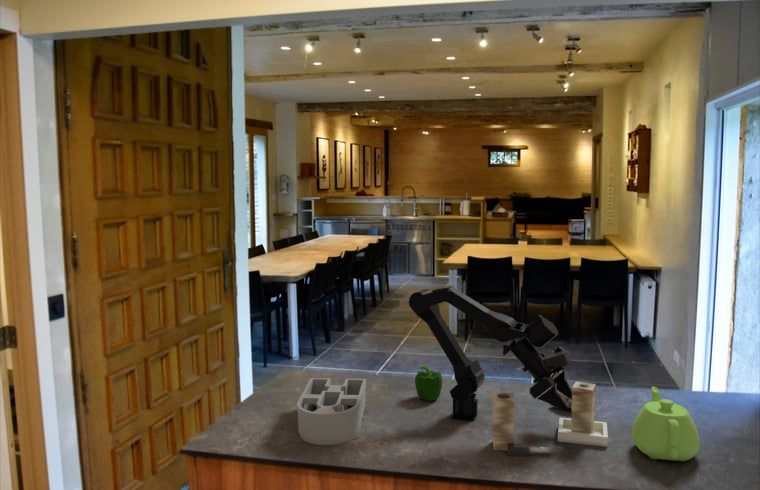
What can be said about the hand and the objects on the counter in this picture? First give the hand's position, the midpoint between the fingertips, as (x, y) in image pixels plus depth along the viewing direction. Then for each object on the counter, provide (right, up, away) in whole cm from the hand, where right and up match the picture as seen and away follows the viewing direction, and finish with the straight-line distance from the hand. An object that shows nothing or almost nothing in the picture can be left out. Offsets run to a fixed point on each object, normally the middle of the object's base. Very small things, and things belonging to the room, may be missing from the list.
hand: (570, 404), depth 166 cm
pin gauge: (-14, -10, -11) cm, 20 cm away
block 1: (-19, -9, -6) cm, 22 cm away
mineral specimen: (+6, -6, +19) cm, 21 cm away
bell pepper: (-35, -6, +29) cm, 45 cm away
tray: (+3, -8, -1) cm, 9 cm away
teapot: (+20, -9, -9) cm, 24 cm away
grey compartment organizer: (-63, -8, +9) cm, 64 cm away
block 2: (+3, -8, -1) cm, 8 cm away
